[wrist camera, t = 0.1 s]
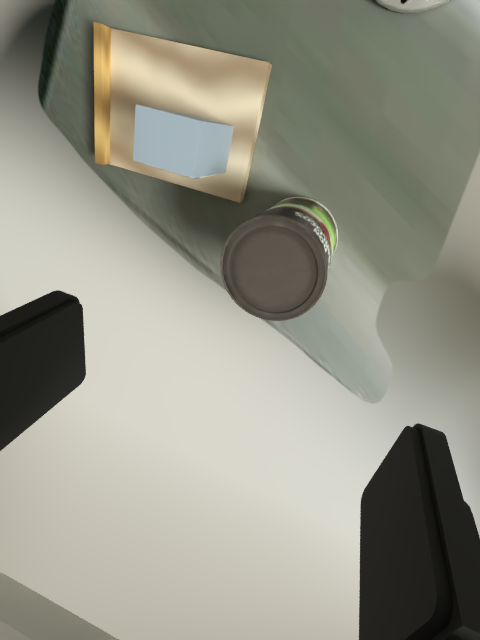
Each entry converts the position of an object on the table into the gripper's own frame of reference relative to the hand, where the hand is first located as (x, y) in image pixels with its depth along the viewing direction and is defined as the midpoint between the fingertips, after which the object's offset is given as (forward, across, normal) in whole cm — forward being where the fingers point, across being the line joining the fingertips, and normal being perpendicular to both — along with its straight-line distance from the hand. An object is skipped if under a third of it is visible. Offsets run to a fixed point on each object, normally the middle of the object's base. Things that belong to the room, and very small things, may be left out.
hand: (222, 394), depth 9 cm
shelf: (+37, +21, -5) cm, 42 cm away
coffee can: (+37, +3, +5) cm, 37 cm away
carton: (+35, +17, -3) cm, 39 cm away
